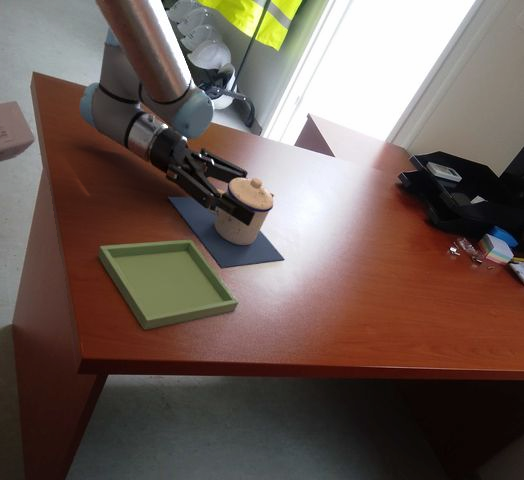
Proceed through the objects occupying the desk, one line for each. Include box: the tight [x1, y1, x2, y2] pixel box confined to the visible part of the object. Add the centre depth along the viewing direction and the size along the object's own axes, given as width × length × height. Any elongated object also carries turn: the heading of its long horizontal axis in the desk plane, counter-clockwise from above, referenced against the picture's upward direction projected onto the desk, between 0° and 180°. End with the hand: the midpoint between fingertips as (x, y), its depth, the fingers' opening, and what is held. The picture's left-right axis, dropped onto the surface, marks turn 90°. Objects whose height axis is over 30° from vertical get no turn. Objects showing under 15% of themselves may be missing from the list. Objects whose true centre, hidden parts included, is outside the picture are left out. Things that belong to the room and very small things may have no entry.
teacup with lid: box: [207, 177, 274, 245], centre depth 85 cm, size 12×9×12 cm
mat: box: [167, 196, 285, 269], centre depth 90 cm, size 20×16×1 cm
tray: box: [97, 239, 239, 331], centre depth 72 cm, size 16×17×2 cm
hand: (261, 210), depth 85 cm, fingers closed on teacup with lid, 9 cm apart
